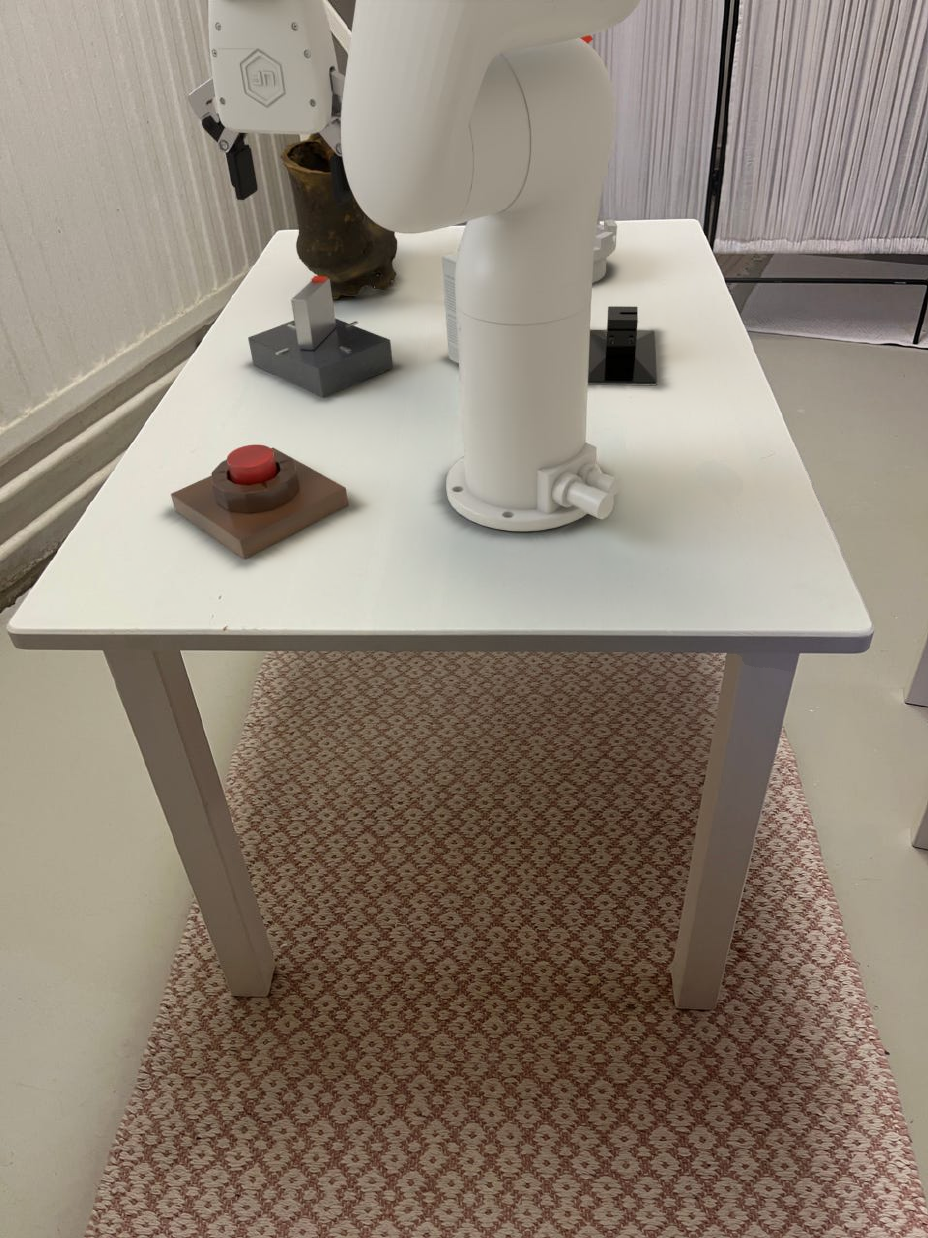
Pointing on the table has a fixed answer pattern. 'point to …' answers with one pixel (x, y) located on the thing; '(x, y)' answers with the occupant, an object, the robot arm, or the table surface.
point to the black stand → (622, 351)
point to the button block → (259, 505)
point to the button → (252, 464)
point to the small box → (450, 304)
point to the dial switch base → (322, 357)
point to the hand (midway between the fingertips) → (295, 197)
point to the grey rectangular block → (313, 313)
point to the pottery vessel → (335, 225)
